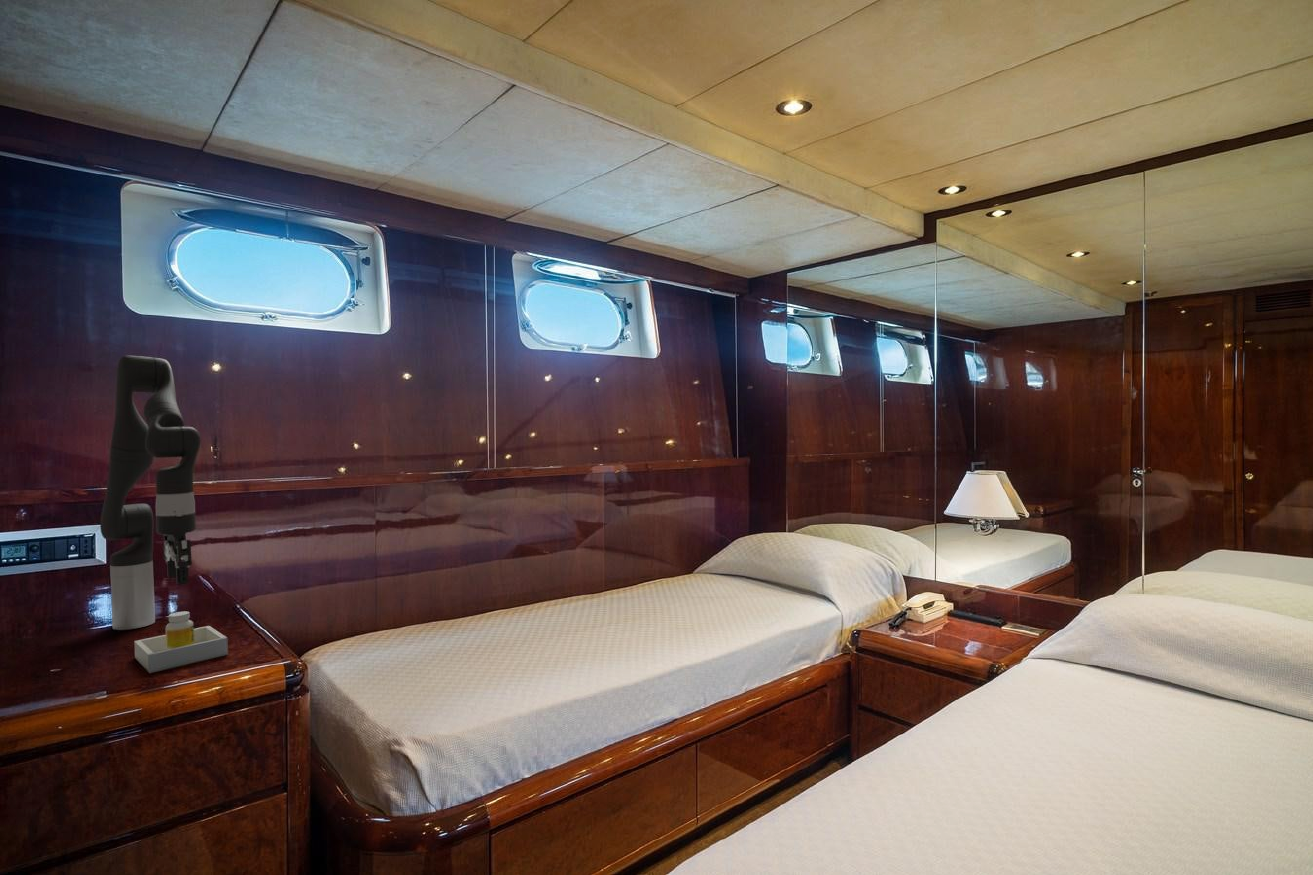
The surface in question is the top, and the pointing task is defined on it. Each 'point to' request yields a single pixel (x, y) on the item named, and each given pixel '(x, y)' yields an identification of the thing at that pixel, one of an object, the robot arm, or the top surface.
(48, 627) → the top surface
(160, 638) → the box
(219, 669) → the top surface
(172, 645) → the supplement bottle
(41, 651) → the top surface
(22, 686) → the top surface
